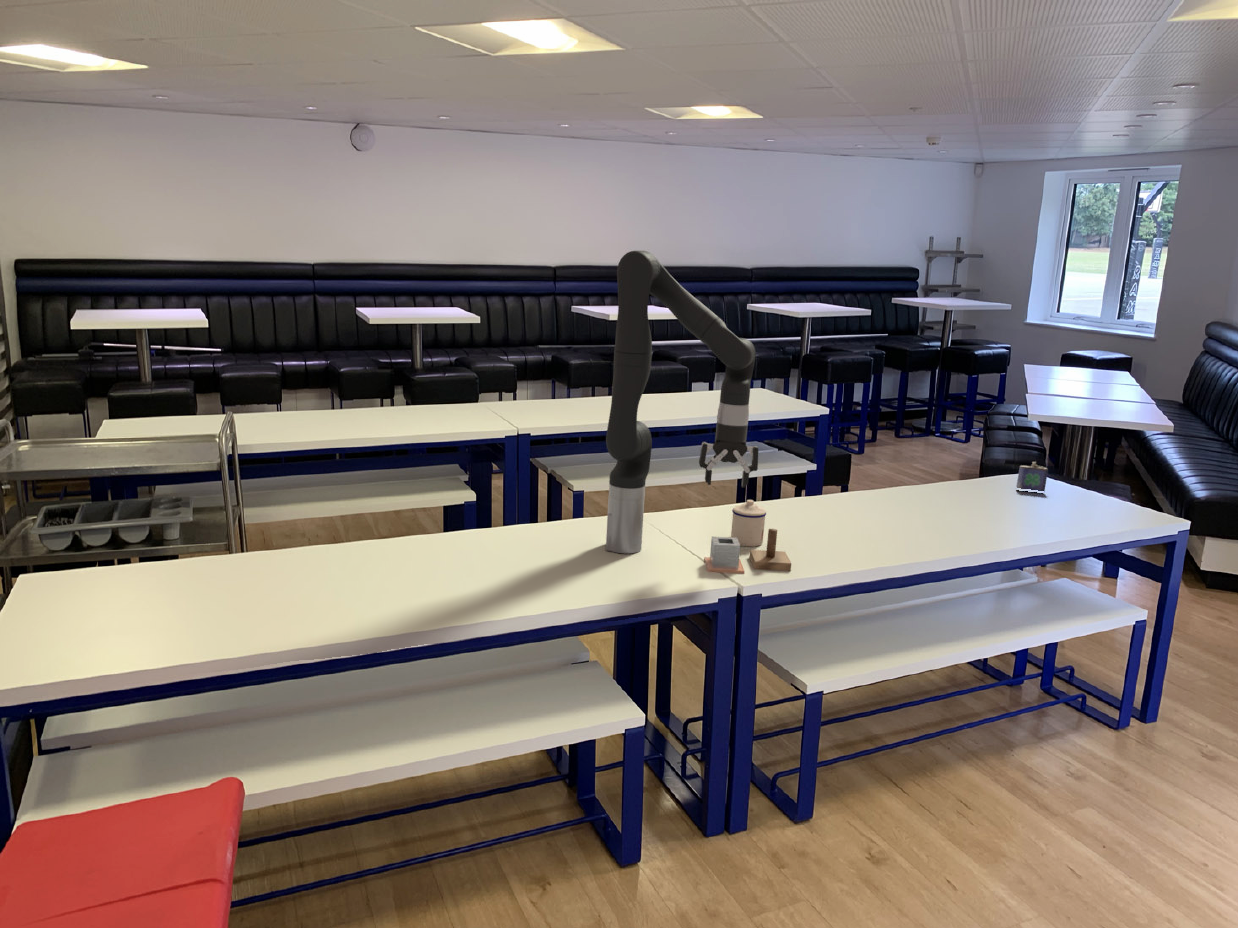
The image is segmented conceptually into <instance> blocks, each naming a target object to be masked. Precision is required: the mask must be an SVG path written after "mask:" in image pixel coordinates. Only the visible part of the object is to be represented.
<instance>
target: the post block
mask: <svg viewBox="0 0 1238 928" xmlns="http://www.w3.org/2000/svg"><path fill="white" fill-rule="evenodd" d="M767 531H768V532H767V540H766V541H767V544H766V550H764V549H763V550H762V549H750V550H749V559H750V562H751V564H752V566H753V569H754V570H763V571H765V570H766V571H767V570H768V571H783V572H787V571H788V572H791V571H792V562H791V560H790V557H788V555H787V553H786V551H785V550H784V551H782V550H776V547H777V538H778V529H775V528H768V530H767Z"/></svg>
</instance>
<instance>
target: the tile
mask: <svg viewBox="0 0 1238 928" xmlns="http://www.w3.org/2000/svg"><path fill="white" fill-rule="evenodd" d="M703 558H704V565H705V568H706V571H707V572H709V573H724V574H725V573H727V574H729V573H730V574H745V569H744V566H743V563H742V560H741V559H740V558H739V566H738V569H726V568H712V565H711V561H710V556H708V557H707V556H704V557H703Z"/></svg>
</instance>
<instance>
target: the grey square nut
mask: <svg viewBox="0 0 1238 928" xmlns="http://www.w3.org/2000/svg"><path fill="white" fill-rule="evenodd" d="M710 539H711V541H710V555H709V557H710V561H711V565H712V568H726V569H738V566H739V559H740V553H741V545H740V544H739V541H738V539H737V538H732V537H731V536H730V537H729V536H728V537H727V536H711V538H710Z"/></svg>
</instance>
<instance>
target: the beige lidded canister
mask: <svg viewBox="0 0 1238 928" xmlns="http://www.w3.org/2000/svg"><path fill="white" fill-rule="evenodd" d="M766 515H767V511H766V509H765V508H763V507H761V506H759V505H758V504H755V501H754V500H753V499H747V500H746V502H744V503H742V504H740V505H735V506H734V507H732V518H731V519H732V521H731V532H730V537H732V538H737V539H738V541H739V544H740V547H741V546H742V547H750V548H751V547H758V546H759V547H760V546H761V545H762V544H763V542H764V533H765V523H766V522H765V521H766Z"/></svg>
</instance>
